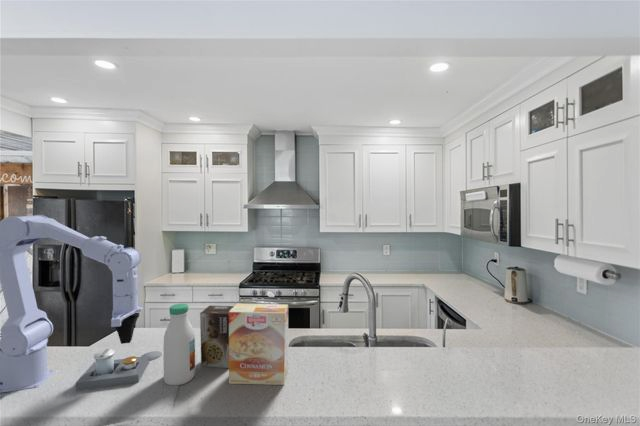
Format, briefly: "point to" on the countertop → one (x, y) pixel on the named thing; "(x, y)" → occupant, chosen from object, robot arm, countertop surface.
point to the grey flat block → (112, 375)
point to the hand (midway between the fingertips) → (126, 342)
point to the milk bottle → (179, 347)
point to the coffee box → (215, 336)
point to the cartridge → (104, 362)
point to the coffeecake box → (258, 344)
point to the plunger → (129, 363)
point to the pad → (153, 355)
